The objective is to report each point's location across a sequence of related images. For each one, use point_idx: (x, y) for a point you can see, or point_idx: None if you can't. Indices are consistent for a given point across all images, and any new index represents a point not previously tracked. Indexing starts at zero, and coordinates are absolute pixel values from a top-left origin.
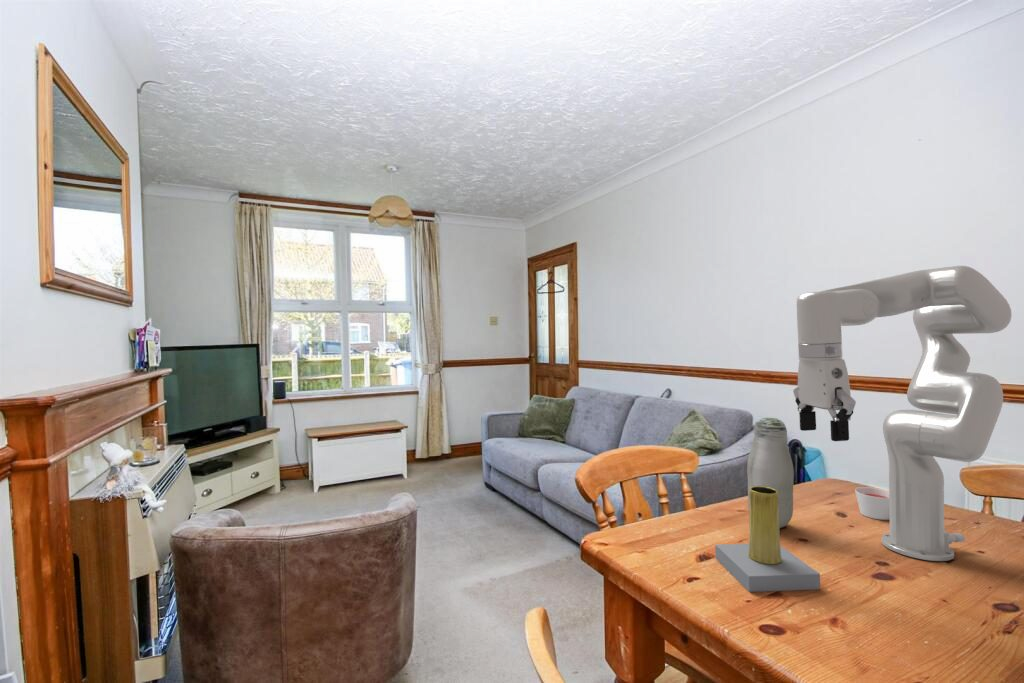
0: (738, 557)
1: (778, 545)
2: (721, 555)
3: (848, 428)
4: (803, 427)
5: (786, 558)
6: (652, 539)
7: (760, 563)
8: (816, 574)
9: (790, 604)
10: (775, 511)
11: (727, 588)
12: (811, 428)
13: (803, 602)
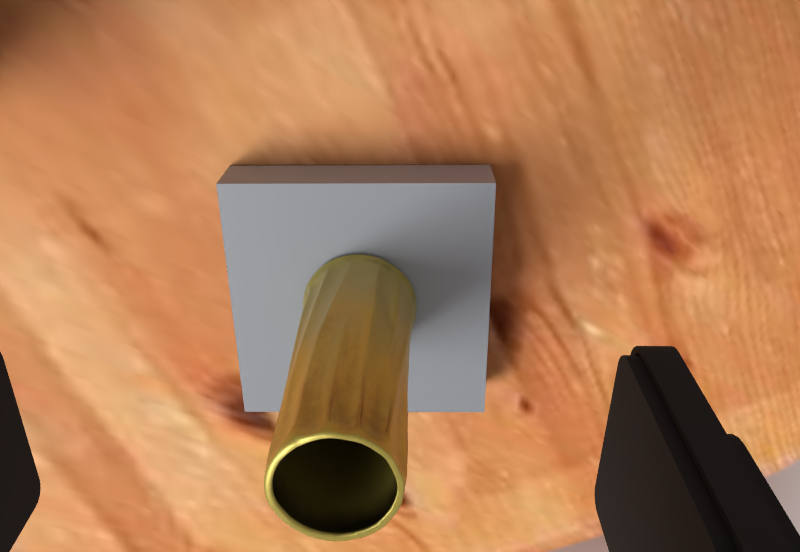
0: None
1: (401, 310)
2: None
3: (733, 450)
4: (22, 513)
5: (365, 228)
6: (116, 509)
7: None
8: (494, 194)
9: (561, 308)
10: (399, 405)
11: (453, 427)
12: (6, 411)
13: (557, 265)
